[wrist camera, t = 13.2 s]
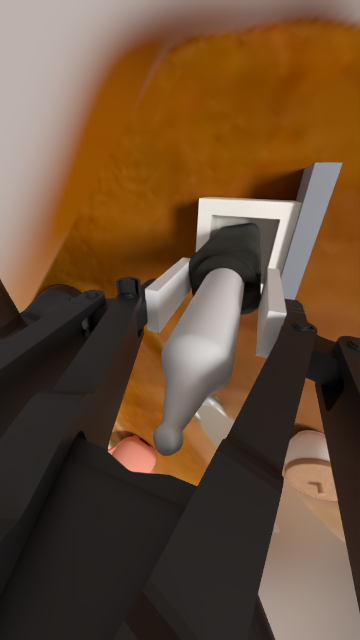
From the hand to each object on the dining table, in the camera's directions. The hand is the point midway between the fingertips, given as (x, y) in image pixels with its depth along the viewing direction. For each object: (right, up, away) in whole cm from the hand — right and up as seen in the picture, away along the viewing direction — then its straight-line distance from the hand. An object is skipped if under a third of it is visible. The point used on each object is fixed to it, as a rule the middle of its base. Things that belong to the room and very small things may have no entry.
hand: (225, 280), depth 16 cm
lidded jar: (+23, -27, +26) cm, 44 cm away
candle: (+4, +6, +10) cm, 12 cm away
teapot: (-16, -44, +52) cm, 70 cm away
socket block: (+5, +7, +12) cm, 15 cm away
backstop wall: (+11, +6, +10) cm, 16 cm away
